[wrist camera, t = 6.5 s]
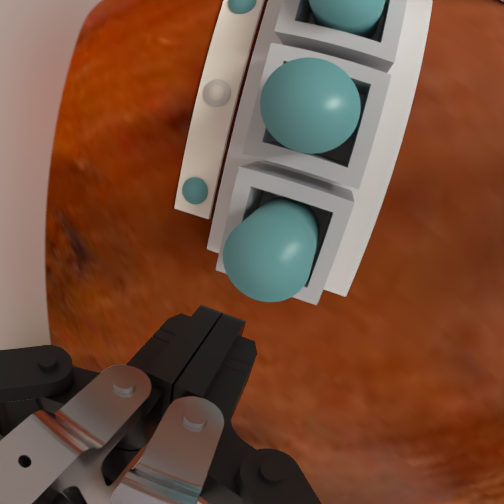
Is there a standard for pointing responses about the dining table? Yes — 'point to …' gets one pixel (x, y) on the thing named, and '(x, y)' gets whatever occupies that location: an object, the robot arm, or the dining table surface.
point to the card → (216, 105)
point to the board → (338, 159)
